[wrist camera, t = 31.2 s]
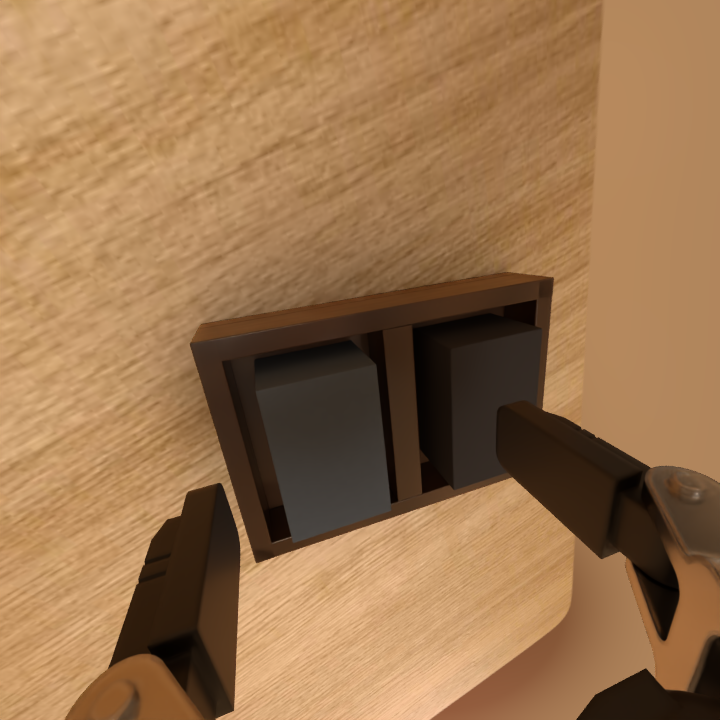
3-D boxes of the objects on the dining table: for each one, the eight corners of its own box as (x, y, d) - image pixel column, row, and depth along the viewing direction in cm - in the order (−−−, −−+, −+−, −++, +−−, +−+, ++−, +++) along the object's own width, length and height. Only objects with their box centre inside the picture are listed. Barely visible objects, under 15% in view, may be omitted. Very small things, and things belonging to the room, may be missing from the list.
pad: (351, 339, 18) (376, 364, 15) (367, 464, 21) (392, 511, 17) (253, 359, 17) (255, 391, 13) (284, 488, 20) (293, 543, 16)
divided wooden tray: (508, 271, 21) (554, 277, 18) (501, 440, 25) (538, 469, 22) (200, 323, 17) (189, 343, 14) (254, 515, 21) (255, 563, 18)
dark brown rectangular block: (490, 312, 20) (543, 328, 17) (488, 429, 23) (532, 465, 19) (412, 328, 19) (450, 348, 15) (419, 450, 22) (453, 491, 18)
